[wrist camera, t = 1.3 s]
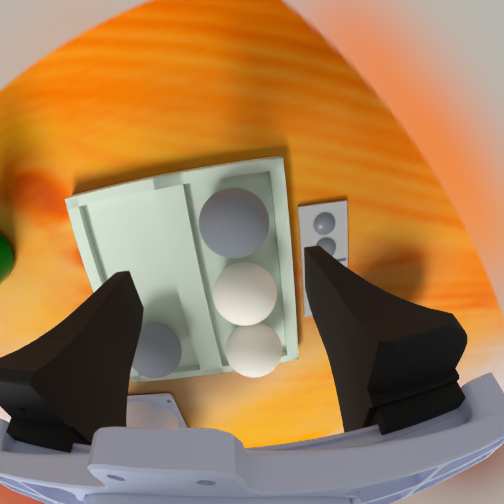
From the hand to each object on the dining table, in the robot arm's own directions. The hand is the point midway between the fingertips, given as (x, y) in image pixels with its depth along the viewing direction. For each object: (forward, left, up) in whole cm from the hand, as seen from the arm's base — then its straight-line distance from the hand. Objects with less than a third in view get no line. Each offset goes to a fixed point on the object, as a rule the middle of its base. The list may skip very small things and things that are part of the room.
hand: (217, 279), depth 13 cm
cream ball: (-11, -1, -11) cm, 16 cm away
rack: (-6, +3, -11) cm, 13 cm away
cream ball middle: (-6, -1, -11) cm, 12 cm away
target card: (-6, -8, -11) cm, 15 cm away
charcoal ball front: (-1, -1, -11) cm, 11 cm away
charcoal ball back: (-10, +7, -11) cm, 16 cm away
